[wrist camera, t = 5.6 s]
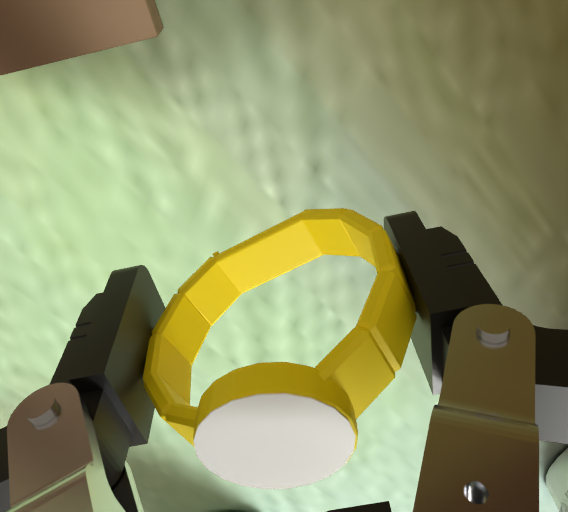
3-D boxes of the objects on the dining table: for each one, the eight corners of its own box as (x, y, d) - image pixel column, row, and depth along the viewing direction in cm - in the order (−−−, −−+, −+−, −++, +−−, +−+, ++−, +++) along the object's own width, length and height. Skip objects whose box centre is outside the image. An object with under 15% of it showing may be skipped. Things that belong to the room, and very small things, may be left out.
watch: (210, 318, 14) (171, 525, 10) (153, 251, 13) (73, 456, 8) (400, 241, 13) (466, 446, 8) (359, 154, 11) (409, 342, 6)
